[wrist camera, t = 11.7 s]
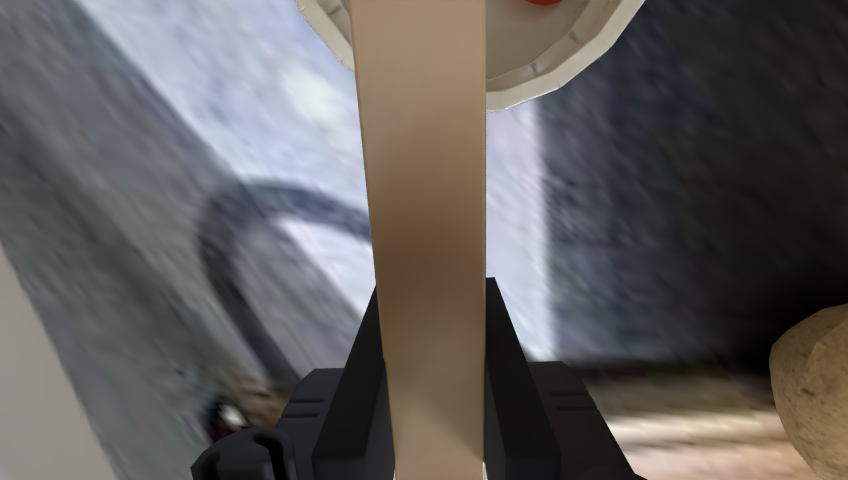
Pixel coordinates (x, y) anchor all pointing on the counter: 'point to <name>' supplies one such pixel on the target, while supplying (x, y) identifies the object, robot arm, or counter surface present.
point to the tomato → (543, 2)
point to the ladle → (427, 222)
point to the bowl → (511, 41)
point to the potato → (815, 389)
